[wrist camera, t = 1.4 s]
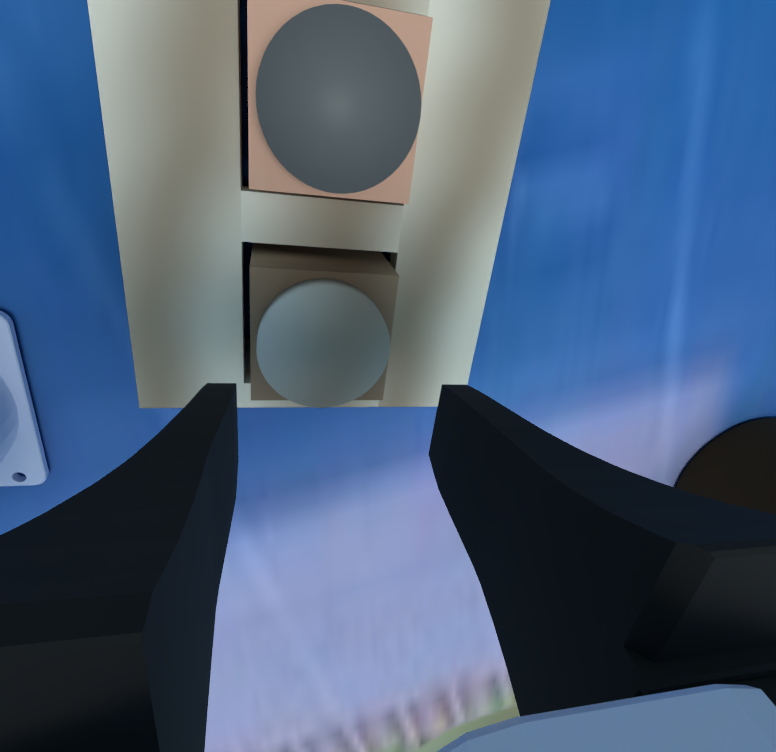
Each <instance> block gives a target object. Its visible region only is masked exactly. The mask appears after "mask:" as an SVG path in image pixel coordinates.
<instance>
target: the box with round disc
mask: <svg viewBox="0 0 776 752" xmlns="http://www.w3.org/2000/svg"><path fill="white" fill-rule="evenodd" d="M398 282H399V275H398V274H397V272H396V271H395V270H394V268H393V267H392V266H391V264H390V263H389V262H388V260H387V259H386V258H385V257H384V255H383V254H382V253H381V251H367V250H352V249H338V248H324V247H310V246H296V245H281V244H267V243H253V246H252V253H251V260H250V369H251V400H290V401H292V402H294V403H297V404H300V405H304V406H308V407H317V408H325V407H334V406H339V405H342V404H346V403H348V402H350V401H353V400H383V396H384V389H385V381H386V373H387V366H388V358H389V353H390V343H391V335H392V327H393V320H394V312H395V305H396V297H397V289H398Z"/></svg>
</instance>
